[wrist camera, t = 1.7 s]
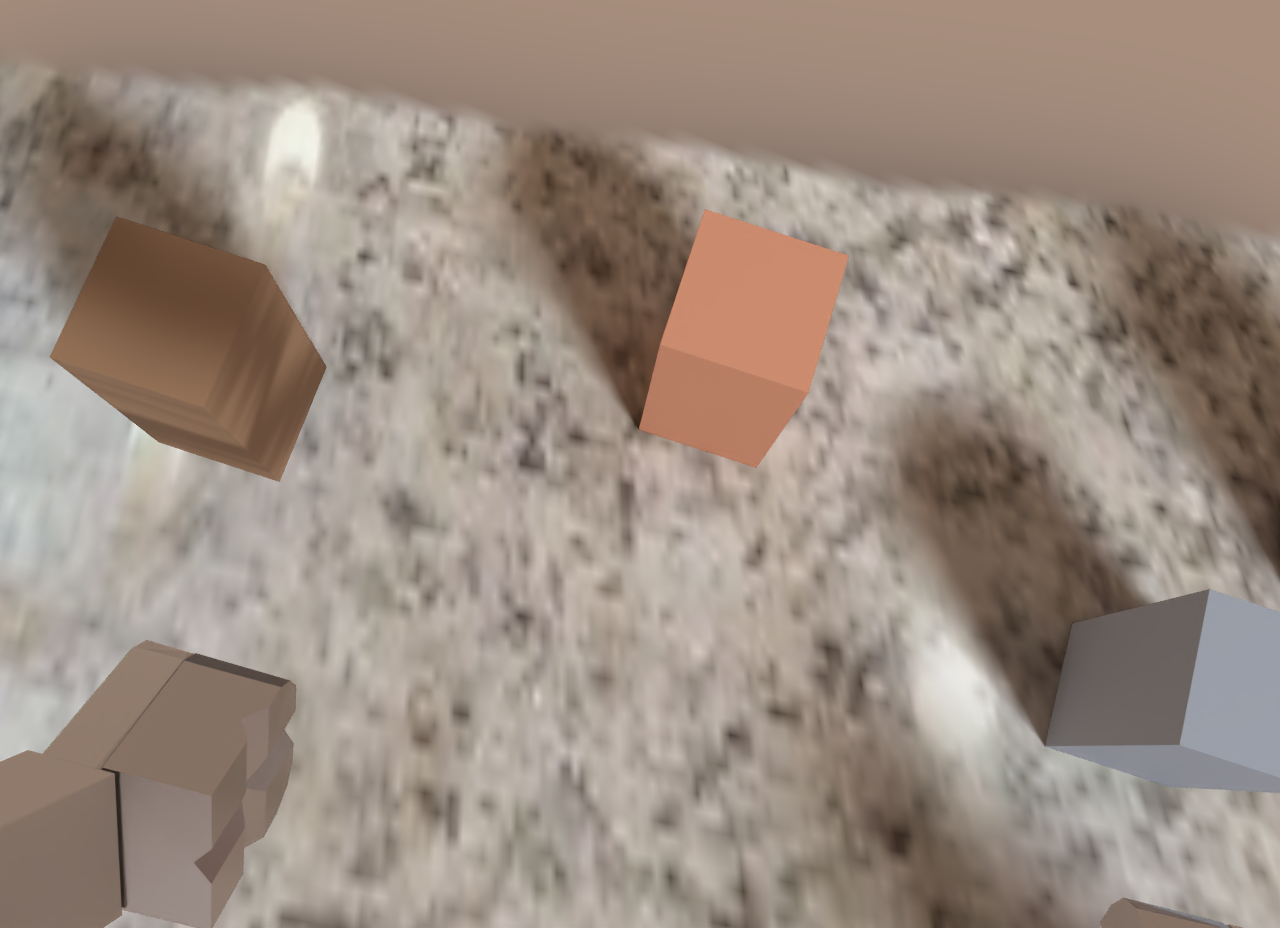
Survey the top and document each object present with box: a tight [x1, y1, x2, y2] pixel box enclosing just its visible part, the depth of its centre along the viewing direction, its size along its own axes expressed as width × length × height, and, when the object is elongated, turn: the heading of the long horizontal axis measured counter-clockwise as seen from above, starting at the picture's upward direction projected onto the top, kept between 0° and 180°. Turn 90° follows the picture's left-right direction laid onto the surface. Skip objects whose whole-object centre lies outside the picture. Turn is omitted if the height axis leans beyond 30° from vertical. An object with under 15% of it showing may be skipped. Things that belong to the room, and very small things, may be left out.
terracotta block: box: [639, 209, 849, 468], centre depth 38 cm, size 4×4×9 cm
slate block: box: [1045, 589, 1280, 793], centre depth 36 cm, size 4×4×9 cm
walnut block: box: [50, 217, 326, 482], centre depth 37 cm, size 4×4×9 cm
